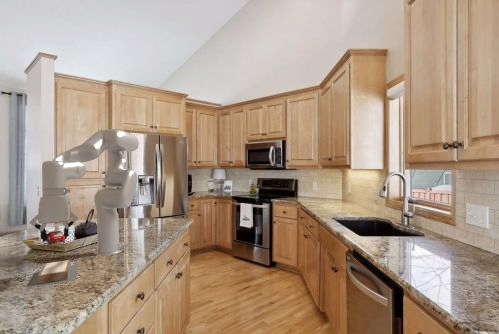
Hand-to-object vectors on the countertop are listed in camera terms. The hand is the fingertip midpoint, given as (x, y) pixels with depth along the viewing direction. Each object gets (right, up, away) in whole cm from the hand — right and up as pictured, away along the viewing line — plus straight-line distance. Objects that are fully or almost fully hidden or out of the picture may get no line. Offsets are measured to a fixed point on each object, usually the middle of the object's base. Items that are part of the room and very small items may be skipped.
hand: (55, 239), depth 110 cm
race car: (0, -1, 0) cm, 1 cm away
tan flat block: (0, -14, 0) cm, 14 cm away
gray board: (0, -15, 0) cm, 15 cm away
